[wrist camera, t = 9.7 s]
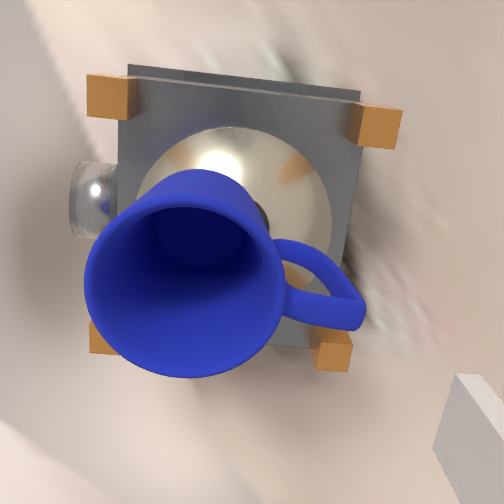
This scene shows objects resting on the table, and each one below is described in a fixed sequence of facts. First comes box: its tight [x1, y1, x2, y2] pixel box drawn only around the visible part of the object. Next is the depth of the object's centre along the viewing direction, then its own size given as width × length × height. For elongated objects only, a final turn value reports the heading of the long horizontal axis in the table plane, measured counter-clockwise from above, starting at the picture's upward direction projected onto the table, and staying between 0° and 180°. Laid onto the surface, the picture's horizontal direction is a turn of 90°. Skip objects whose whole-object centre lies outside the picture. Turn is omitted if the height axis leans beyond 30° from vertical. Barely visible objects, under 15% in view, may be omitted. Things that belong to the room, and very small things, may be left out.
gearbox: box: [69, 64, 403, 372], centre depth 31 cm, size 17×18×8 cm
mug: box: [84, 169, 366, 378], centre depth 24 cm, size 8×12×10 cm
